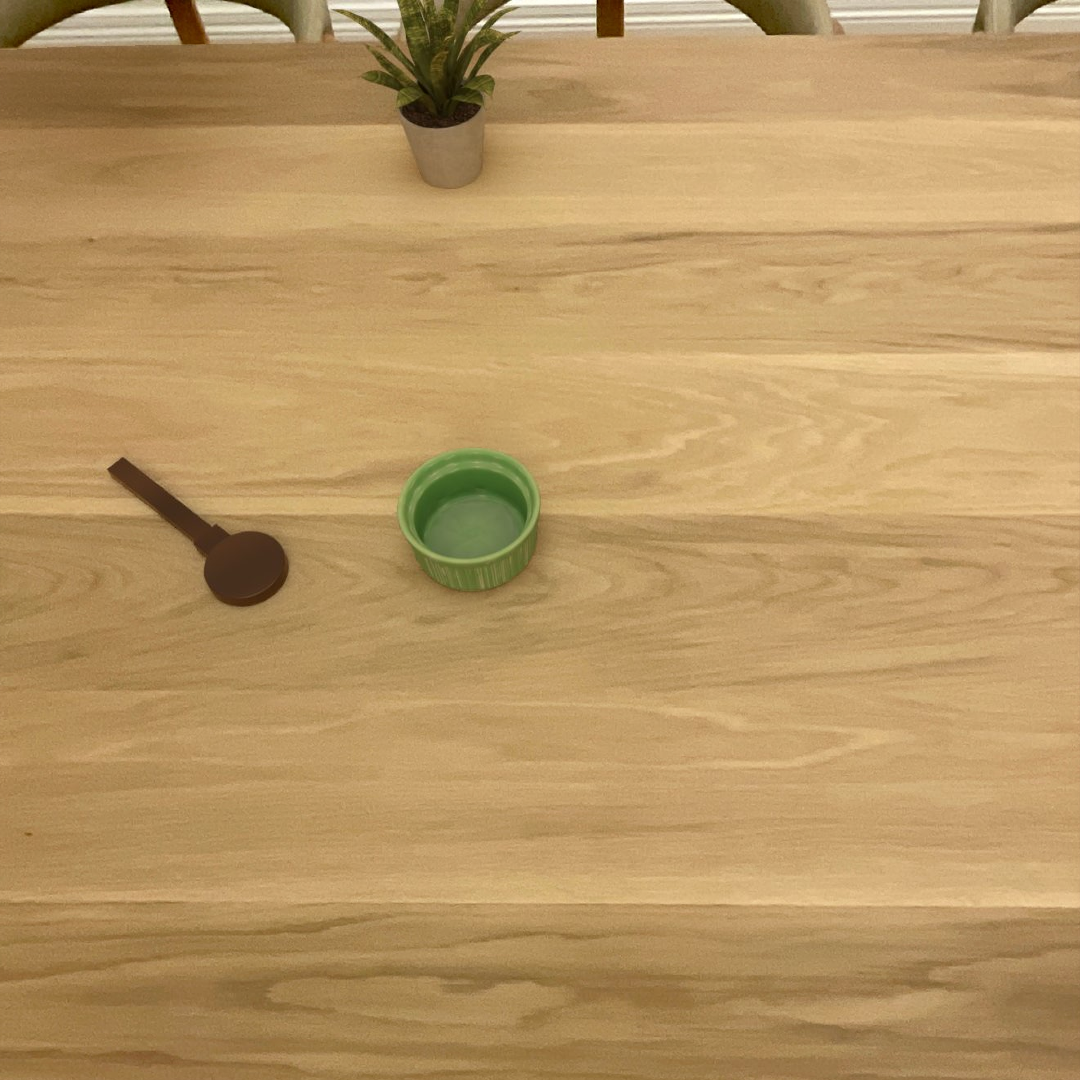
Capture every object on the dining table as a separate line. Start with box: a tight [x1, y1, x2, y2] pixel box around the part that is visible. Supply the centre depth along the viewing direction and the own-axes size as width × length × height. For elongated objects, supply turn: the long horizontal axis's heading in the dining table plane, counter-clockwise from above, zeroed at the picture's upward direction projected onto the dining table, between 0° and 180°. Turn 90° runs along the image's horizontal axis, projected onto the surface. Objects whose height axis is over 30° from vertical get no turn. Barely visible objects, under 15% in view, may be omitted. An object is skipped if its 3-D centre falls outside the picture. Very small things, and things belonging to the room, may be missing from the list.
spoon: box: [106, 456, 289, 607], centre depth 77 cm, size 16×5×1 cm, turn 50°
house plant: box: [331, 0, 522, 189], centre depth 89 cm, size 14×14×16 cm
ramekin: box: [396, 446, 542, 592], centre depth 74 cm, size 9×9×4 cm
